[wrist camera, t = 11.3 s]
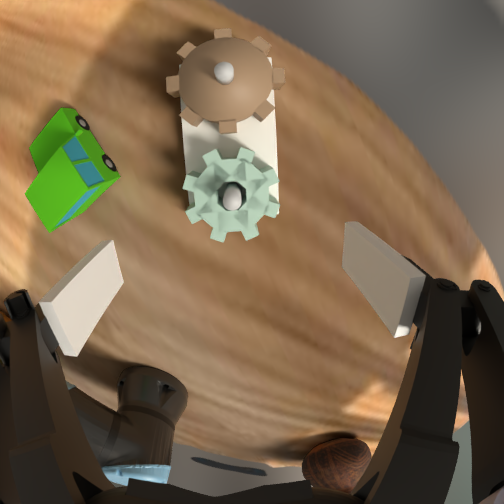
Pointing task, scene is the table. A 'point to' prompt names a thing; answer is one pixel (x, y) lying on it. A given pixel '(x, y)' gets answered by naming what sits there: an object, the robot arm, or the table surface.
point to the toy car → (67, 169)
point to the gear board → (232, 145)
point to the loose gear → (212, 204)
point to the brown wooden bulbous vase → (337, 464)
